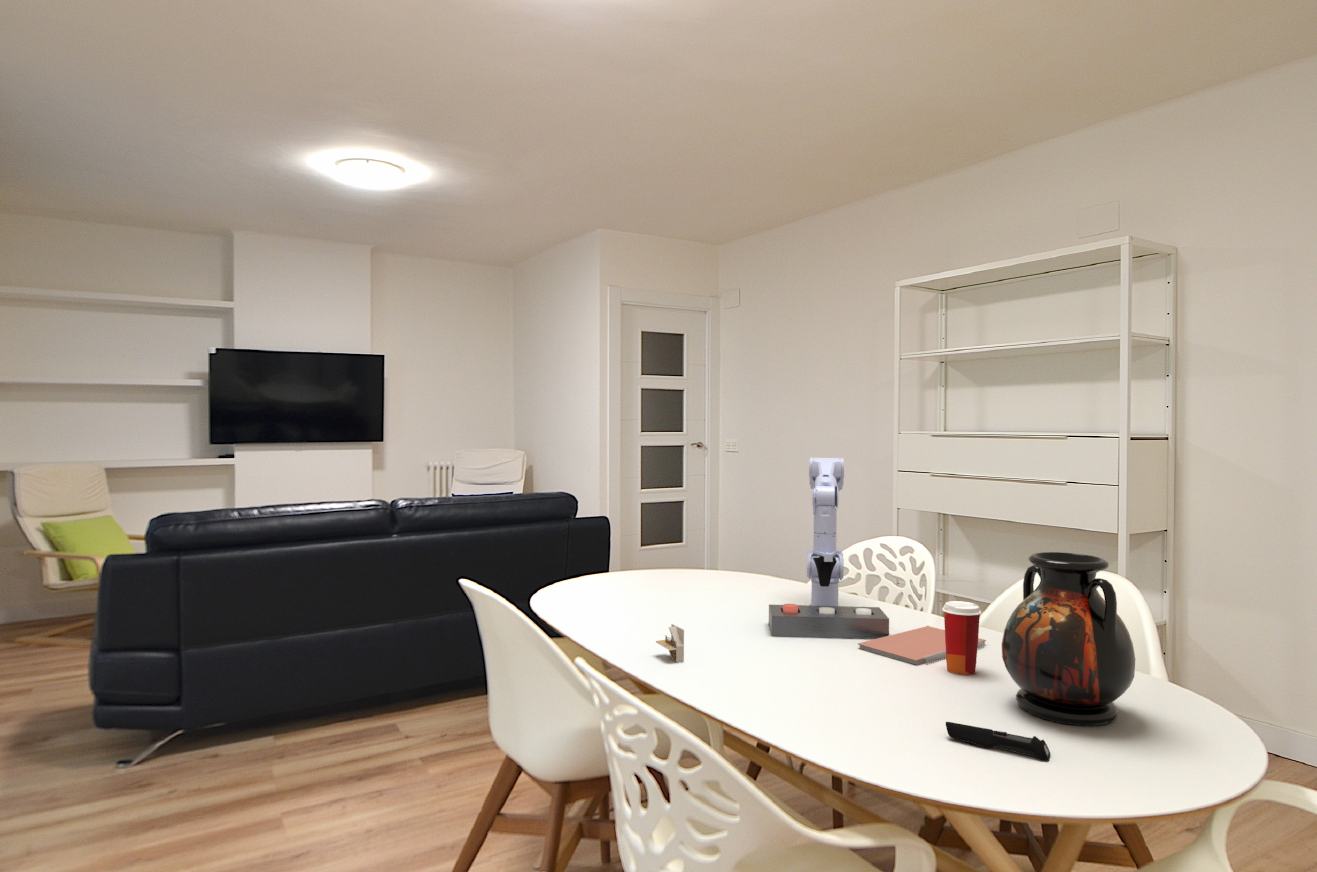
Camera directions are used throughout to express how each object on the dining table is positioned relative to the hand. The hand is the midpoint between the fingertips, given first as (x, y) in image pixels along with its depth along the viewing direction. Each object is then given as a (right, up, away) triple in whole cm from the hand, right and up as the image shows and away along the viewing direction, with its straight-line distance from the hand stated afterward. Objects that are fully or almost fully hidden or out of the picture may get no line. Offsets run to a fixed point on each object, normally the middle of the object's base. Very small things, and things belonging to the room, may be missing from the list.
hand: (824, 586), depth 200 cm
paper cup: (+21, -11, -35) cm, 43 cm away
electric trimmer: (+12, -12, -74) cm, 76 cm away
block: (0, -11, -4) cm, 11 cm away
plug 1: (0, -10, -4) cm, 11 cm away
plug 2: (+9, -10, -5) cm, 14 cm away
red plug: (-9, -9, -4) cm, 14 cm away
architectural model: (-39, -11, -28) cm, 49 cm away
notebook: (+20, -12, -18) cm, 29 cm away
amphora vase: (+32, -12, -58) cm, 67 cm away
